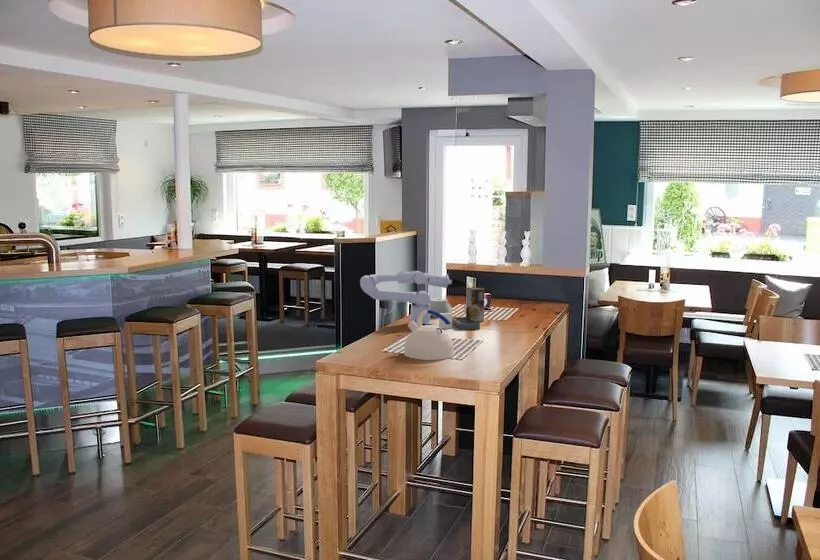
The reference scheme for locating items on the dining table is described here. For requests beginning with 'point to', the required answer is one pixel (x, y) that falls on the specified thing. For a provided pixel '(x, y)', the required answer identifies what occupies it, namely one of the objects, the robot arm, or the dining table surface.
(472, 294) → the coffee box
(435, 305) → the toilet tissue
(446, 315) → the panel
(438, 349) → the kettle
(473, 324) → the rack
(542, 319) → the dining table surface
